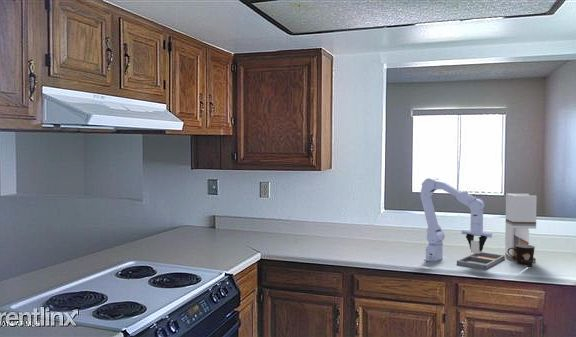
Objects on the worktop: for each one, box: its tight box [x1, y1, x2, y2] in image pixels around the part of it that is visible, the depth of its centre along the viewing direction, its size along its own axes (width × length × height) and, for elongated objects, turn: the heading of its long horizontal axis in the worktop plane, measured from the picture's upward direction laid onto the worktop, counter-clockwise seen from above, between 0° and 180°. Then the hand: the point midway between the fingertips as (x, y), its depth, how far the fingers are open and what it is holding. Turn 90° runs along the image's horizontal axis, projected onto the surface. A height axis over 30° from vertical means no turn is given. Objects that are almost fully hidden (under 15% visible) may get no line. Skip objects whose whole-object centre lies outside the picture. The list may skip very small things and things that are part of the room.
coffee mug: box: [507, 244, 536, 268], centre depth 221 cm, size 12×9×10 cm
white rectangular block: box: [470, 239, 483, 254], centre depth 219 cm, size 4×4×6 cm
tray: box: [456, 251, 506, 271], centre depth 224 cm, size 28×14×3 cm, turn 136°
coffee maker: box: [504, 193, 538, 263], centre depth 232 cm, size 11×11×35 cm
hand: (476, 249), depth 219 cm, fingers closed on white rectangular block, 4 cm apart
